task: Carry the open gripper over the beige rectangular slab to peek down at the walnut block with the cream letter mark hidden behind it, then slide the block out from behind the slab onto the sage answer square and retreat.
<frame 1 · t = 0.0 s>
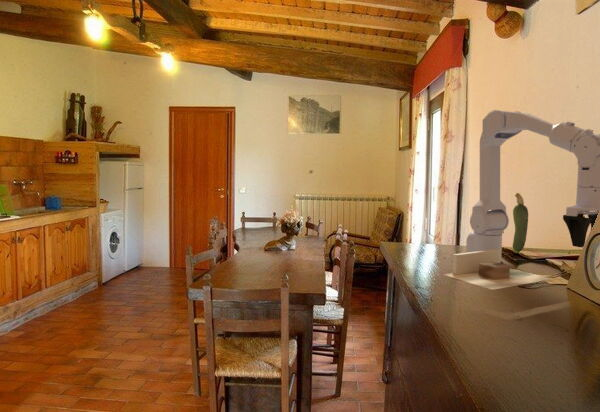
hand: (588, 245, 98), 10 cm above the counter, tool pointing down, fingers open, 7 cm apart
walnut block: (493, 276, 106), point 1 cm above the counter, touching birch board
birch board: (496, 280, 105), on the counter
beige rectangular slab: (476, 270, 112), resting on birch board
vegetable: (518, 254, 137), on the counter
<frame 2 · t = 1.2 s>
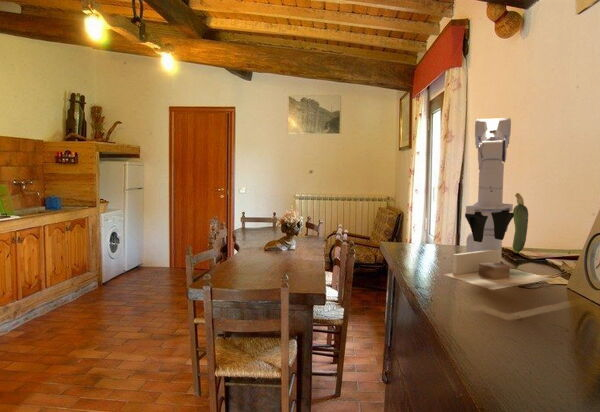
hand: (488, 240, 109), 9 cm above the counter, tool pointing down, fingers open, 7 cm apart
nothing on the counter moved.
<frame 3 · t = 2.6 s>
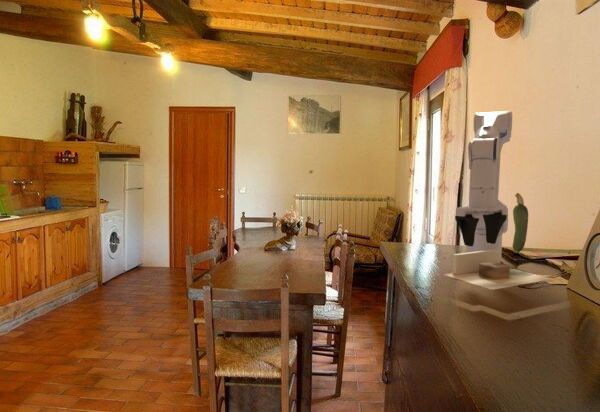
hand: (480, 244, 102), 10 cm above the counter, tool pointing down, fingers open, 7 cm apart
nothing on the counter moved.
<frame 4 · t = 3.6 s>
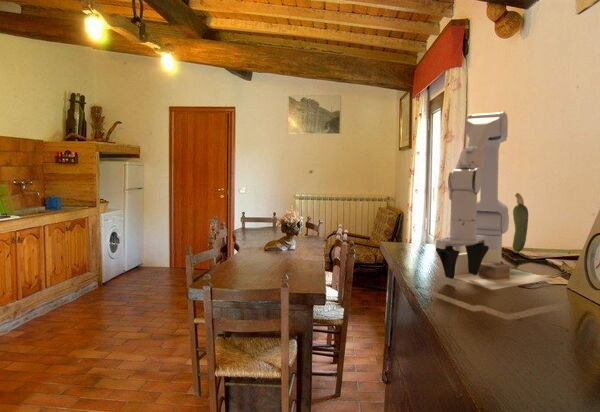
hand: (461, 275, 101), 2 cm above the counter, tool pointing down, fingers open, 7 cm apart
nothing on the counter moved.
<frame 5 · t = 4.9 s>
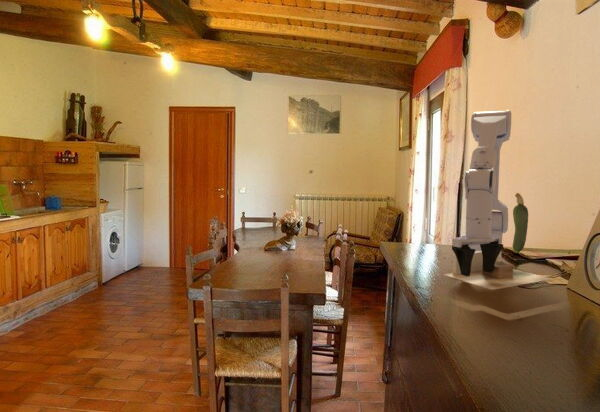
hand: (476, 273, 103), 2 cm above the counter, tool pointing down, fingers open, 7 cm apart
walnut block: (497, 275, 106), point 1 cm above the counter, touching birch board, gripper
everything else where it was.
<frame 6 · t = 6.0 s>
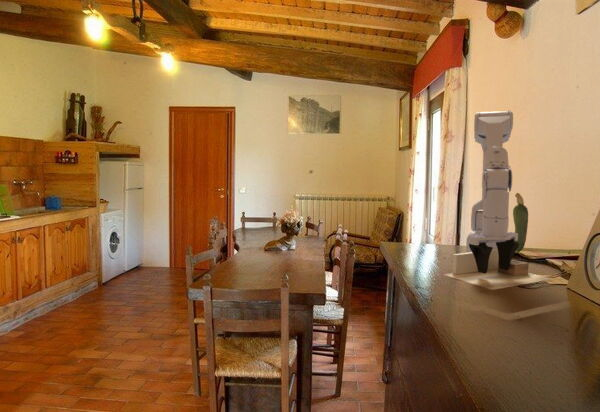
hand: (493, 271, 105), 2 cm above the counter, tool pointing down, fingers open, 7 cm apart
walnut block: (512, 273, 109), point 1 cm above the counter, touching birch board, gripper
everything else where it was.
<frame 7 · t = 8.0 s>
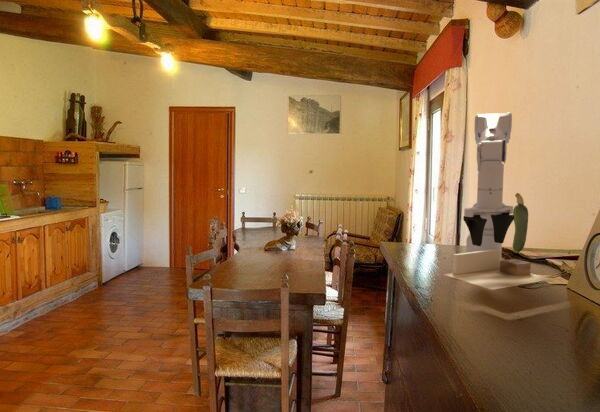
hand: (487, 244, 105), 9 cm above the counter, tool pointing down, fingers open, 7 cm apart
walnut block: (514, 273, 109), point 1 cm above the counter, touching birch board
everything else where it was.
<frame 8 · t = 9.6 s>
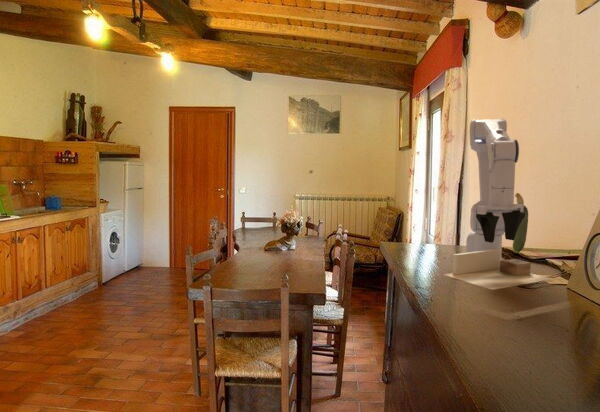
hand: (499, 240, 108), 9 cm above the counter, tool pointing down, fingers open, 7 cm apart
nothing on the counter moved.
at the end: walnut block inside the target area (0.6 cm from its centre), point 1.0 cm above the counter; walnut block tilted 0° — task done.
